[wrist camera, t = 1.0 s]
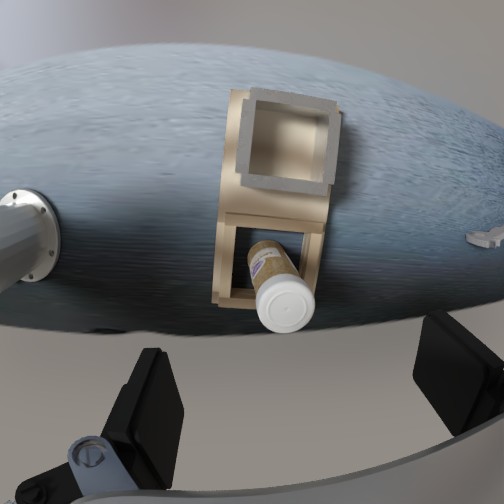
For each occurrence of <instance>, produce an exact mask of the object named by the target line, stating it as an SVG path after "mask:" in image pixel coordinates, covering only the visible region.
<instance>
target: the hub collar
mask: <svg viewBox="0 0 504 504" xmlns="http://www.w3.org/2000/svg"><path fill="white" fill-rule="evenodd" d="M336 103H337V101H332V100H327V99H322V98H317V97H312V96H307V95H301V94H295V93H289V92H283V91H276V90H269V89H261V88H252V87H251V89H250V93H249V96H248V99H243V101H242V106H241V113H240V122H239V131H238V140H237V150H236V159H235V169H234V172H235V173H240V176H239V185H240V186H243V187H253V188H263V189H273V190H282V191H290V192H299V193H307V194H314V195H322V196H327V190H328V184H333V185H334V181H335V173H336V165H337V156H338V146H339V136H340V126H341V114H338V113H336ZM255 109H257V110H266V111H273V112H281V113H287V114H294V115H300V116H306V117H312V118H317V121H316V131H315V141H314V151H313V160H312V168H311V177H310V180H302V179H295V178H287V177H278V176H270V175H260V174H251V173H248V172H249V162H250V153H251V144H252V134H253V125H254V116H255Z"/></svg>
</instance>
